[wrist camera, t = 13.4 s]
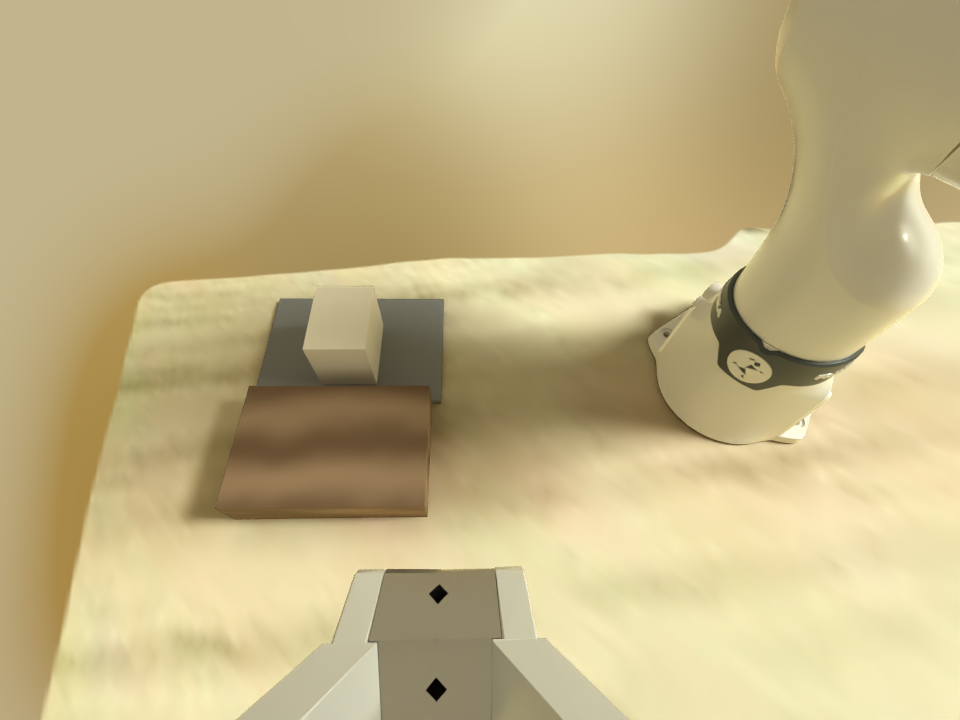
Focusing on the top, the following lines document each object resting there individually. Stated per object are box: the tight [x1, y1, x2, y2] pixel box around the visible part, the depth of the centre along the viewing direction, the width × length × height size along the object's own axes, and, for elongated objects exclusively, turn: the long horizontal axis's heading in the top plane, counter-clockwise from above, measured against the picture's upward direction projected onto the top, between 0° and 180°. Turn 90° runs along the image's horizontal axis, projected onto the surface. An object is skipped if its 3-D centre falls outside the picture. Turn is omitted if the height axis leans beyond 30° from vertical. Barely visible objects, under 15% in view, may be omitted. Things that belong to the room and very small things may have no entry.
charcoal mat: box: [257, 299, 444, 403], centre depth 53 cm, size 14×20×1 cm
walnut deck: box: [215, 386, 432, 519], centre depth 44 cm, size 12×18×4 cm, turn 91°
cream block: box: [302, 286, 383, 384], centre depth 49 cm, size 7×6×8 cm
